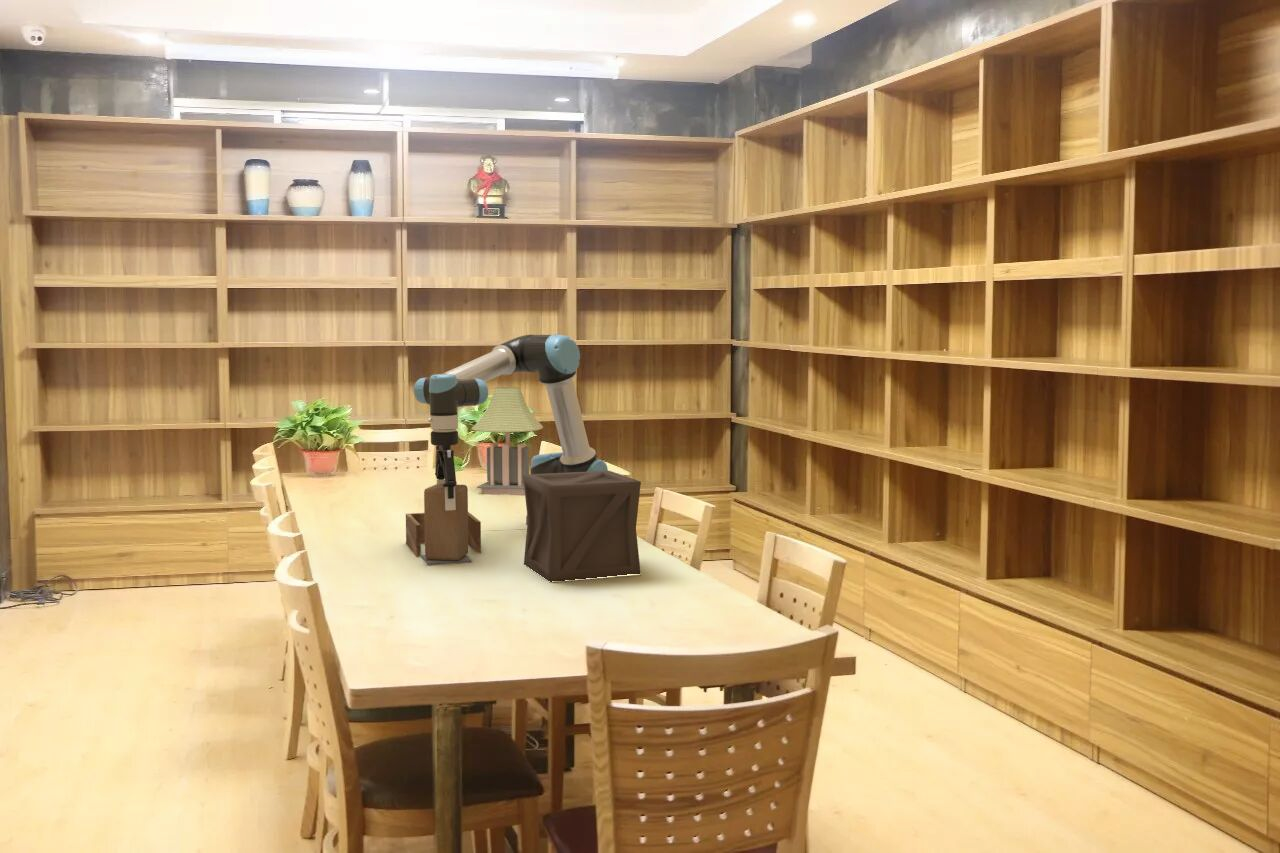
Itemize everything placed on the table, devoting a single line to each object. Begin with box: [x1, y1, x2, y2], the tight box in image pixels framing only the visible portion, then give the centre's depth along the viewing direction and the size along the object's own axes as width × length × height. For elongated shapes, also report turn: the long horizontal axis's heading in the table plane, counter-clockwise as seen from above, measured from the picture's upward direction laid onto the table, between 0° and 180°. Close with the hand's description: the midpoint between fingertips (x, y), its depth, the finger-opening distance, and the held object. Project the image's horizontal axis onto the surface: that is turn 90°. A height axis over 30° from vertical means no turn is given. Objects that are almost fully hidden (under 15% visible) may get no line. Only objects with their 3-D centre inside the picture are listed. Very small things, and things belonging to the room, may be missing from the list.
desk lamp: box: [471, 386, 544, 496], centre depth 479 cm, size 26×28×40 cm
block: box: [423, 483, 469, 561], centre depth 348 cm, size 10×10×20 cm
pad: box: [420, 554, 473, 566], centre depth 349 cm, size 12×12×1 cm
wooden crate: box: [523, 470, 642, 583], centre depth 334 cm, size 25×25×25 cm
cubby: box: [405, 511, 482, 558], centre depth 366 cm, size 18×21×9 cm
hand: (446, 506), depth 348 cm, fingers open, 13 cm apart
